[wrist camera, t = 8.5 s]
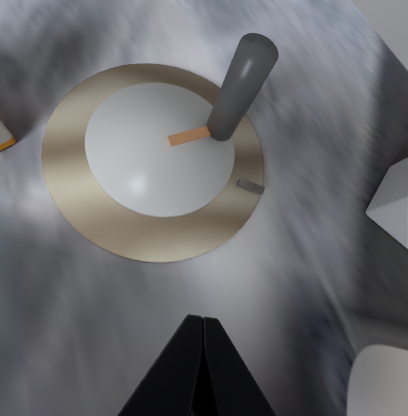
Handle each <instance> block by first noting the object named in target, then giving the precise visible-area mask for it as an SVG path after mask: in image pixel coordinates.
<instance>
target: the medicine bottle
mask: <svg viewBox="0 0 408 416" xmlns="http://www.w3.org/2000/svg"><path fill="white" fill-rule="evenodd" d="M366 215H367V216H369V217H370V218H371V219H372V220H373V221H375V222H376V223H377V224H378V225H379V226H381V227H382V228H383V229H384V230H385V231H386V232H388V233H389V234H390V235H391V236H392V237H394V238H395V239H396V240H397V241H398V242H400V243H401V244H402V245H403V246H404V247H406V248H407V249H408V158H406V159H404V160H402V161H400V162H398V163H396V164H394V165H392V166H391V167H390V168H389V169H388V171H387V173H386V174H385V176H384V178H383V180H382V182H381V184H380V185H379V187H378V189H377V191H376V193H375V195H374V197H373V198H372V200H371V202H370V204H369V206H368V208H367V209H366Z"/></svg>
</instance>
